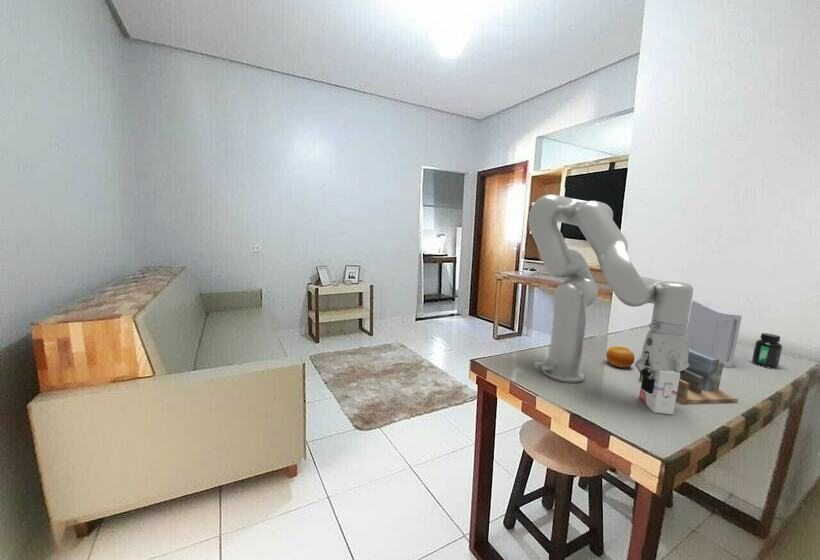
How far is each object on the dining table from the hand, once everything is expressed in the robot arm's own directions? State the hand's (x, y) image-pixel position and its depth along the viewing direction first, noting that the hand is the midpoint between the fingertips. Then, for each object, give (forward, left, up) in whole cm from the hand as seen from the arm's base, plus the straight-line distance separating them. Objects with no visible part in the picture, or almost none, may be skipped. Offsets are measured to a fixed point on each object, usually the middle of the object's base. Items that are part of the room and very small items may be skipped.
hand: (657, 390), depth 90 cm
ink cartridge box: (0, 0, -5) cm, 5 cm away
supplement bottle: (+71, +26, -5) cm, 76 cm away
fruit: (+11, +27, -5) cm, 30 cm away
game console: (+58, +37, -5) cm, 69 cm away
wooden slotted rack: (+18, +8, -5) cm, 20 cm away
